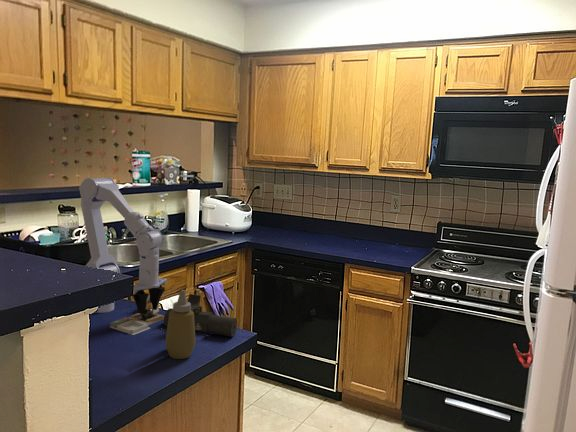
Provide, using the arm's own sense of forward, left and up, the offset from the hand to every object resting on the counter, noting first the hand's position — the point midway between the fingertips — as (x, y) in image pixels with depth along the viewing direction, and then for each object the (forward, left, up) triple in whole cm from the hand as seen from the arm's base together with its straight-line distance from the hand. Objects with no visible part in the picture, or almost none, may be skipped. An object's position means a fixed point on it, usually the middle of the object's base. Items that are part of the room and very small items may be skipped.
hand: (147, 311), depth 149 cm
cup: (-5, +6, -4) cm, 9 cm away
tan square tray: (0, 0, -4) cm, 4 cm away
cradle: (+2, -8, -4) cm, 9 cm away
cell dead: (-5, +6, -3) cm, 9 cm away
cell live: (0, 0, -3) cm, 3 cm away
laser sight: (+17, +4, -4) cm, 18 cm away
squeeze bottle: (+24, -12, -4) cm, 27 cm away
